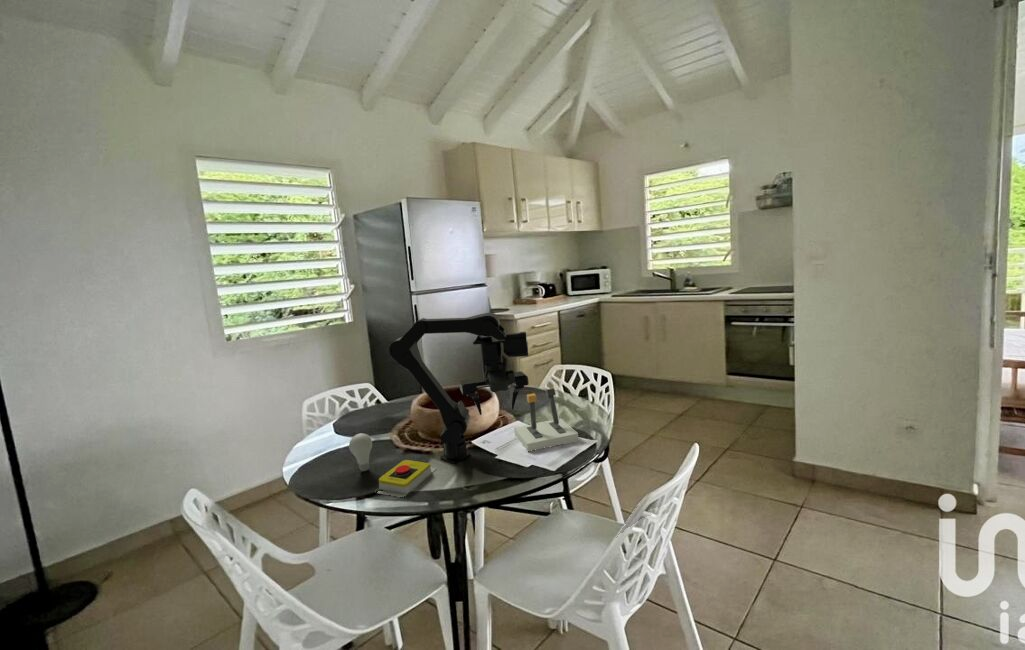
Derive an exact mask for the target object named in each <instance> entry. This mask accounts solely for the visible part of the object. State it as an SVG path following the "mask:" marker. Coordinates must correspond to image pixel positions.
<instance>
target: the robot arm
mask: <svg viewBox="0 0 1025 650" xmlns="http://www.w3.org/2000/svg"><path fill="white" fill-rule="evenodd" d="M455 333H456V334H457V333H458V334H459V333H467V334H472V335H475V336H477V337H476V338H475V339H474V340H473V342H472V344H473V345H474V346H475V345H480V355H481V356H480V357H481V366H482V368H481V369H482V377H483V380H479V381H475V379H474V378H467V379H461V380H460V381H459V390H460V392H461V394H462V395H463V396H467V397H468V398H472V400H473V402H474V404H475V407H476V409H477V411H478V413H479V415H480V416H481V415H482V406H481V403H480V398H479V397H480V396H479V392H478V389H484V388H489V390H490V392H492V393H497V392H501V391H504V392H505V391H508V390H509V405H510V409H511V410H514V408H515V404H516V401H517V397H518V394H519V393H520V391H521V390H522V389H525V386H526V387H527V386H529V385H530V384H529V377H528V375H527V374H526V373H524V372H523V371H521V370H519V371H514V369H513V370H505V368H504V363H503V355H502V354H504V355H505V356H507V358H508V359H509V358H522V357H524V358H525V357H529V343H528V339H527V332H526V331H519V332H512V333H511V332H509V333H508V331H507V330H506V328H504V327H503V325H502V324H501V321H500V317H499V316H498V314H497V315H496V313H494V312H485V313H480V314H476V315H473V316H468V317H455V318H454V317H450V318H449V317H448V318H446V317H445V318H424V317H422V318H420V319H418V320H417V321H415V322H414V323H413V325H412V326H411V327H410V328H409V330H408V331H406V332H405V334H404V335H403V336H399V338H397V339H396V340H394V341H392V343H390V345H389V348H388V353H389V356H390V358H392V359H393V360H394V362H395V363H397V364H398V365H399V366H400V367H402V368H404V369H406V370H407V371H408V372H409V373H410V374H411V375H412V377H413V378H414V379H415V381H416V382H417V383H418V385H419V386H420V388H422V390H423V391H424V392H425V394H426V395H427V396H428V398H429V399H430V400H431V401H432V403H433V404H434V406H435V407H436V408H437V409H438V410H439V413H440V416H441V417H440V418H441V420H442V422H443V425H444V428H443V430H442V431H441V434H440V436H439V439H440V441H441V443H442V447H443V448H442V449H443V454H442V455H440V457H439V458H440V459H441V460H444V461H446V462H449V463H452V464H457V463H459V462H461V461H462V460H464V459H466V458H467V457H469V456H471V452H469V451H468V449H467V442H466V437H465V436H464V434H466V431H467V429H468V427H469V424H470V419H471V415H470V414H469V413H470V409H468V408H467V407H465V404H464V402H463V401H462V400H459V401H458V402H456V401H455V400H453V399H452V398H451V397H450V395H449V394H448V393H447V392H446V390H445V389H444V388H443V387H442V385H441V383H440V382H439V381H438V380H437V378H436V376H434V374H433V373H432V371H431V369H429V368H428V366H427V365H426V364H425V363H424V361H423V359H422V356H421V353H420V349H419V347H418V345H417V343H418V342H419V341H420V340H421V339H422V338H423V336H424V335H427V334H455ZM502 346H503V347H502ZM502 348H503V351H502Z"/></svg>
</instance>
